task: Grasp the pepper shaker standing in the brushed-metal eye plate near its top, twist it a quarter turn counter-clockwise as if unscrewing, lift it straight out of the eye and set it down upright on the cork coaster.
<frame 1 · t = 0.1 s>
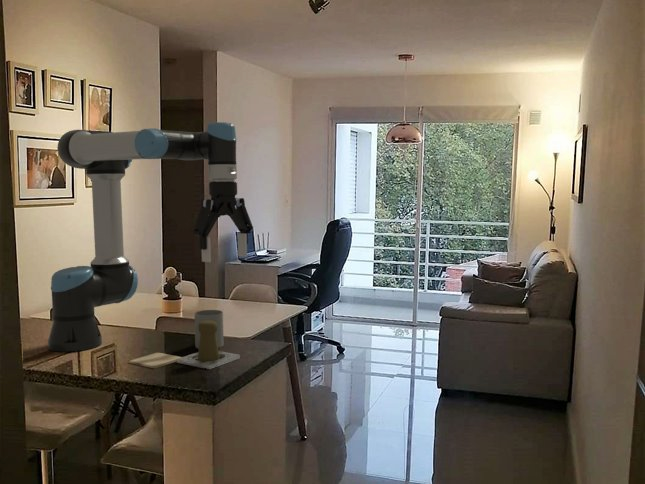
hand: (225, 259, 171), 28 cm above the countertop, fingers open, 13 cm apart
pepper shaker: (208, 361, 172), resting in eye plate
cup: (209, 346, 188), on the countertop
coaster: (156, 361, 172), on the countertop
eye plate: (208, 360, 172), on the countertop
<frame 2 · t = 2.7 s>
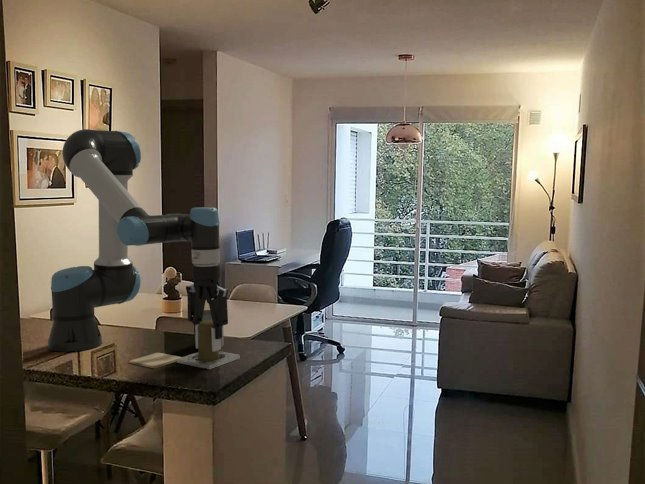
hand: (208, 348, 171), 3 cm above the countertop, fingers closed on pepper shaker, 5 cm apart
pepper shaker: (208, 361, 172), resting in eye plate, touching gripper
everything else where it was.
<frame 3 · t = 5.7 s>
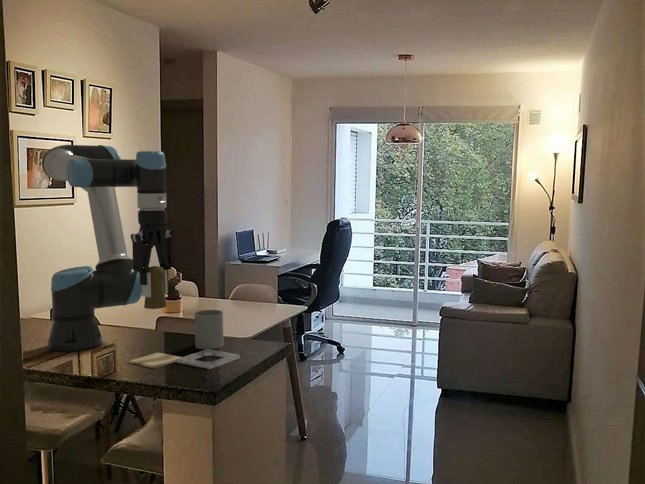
hand: (155, 294, 170), 18 cm above the countertop, fingers closed on pepper shaker, 5 cm apart
pepper shaker: (155, 307, 171), point 15 cm above the countertop, touching gripper
everything else where it was.
when the fingers open (5 cm above the countertop, at t = 8.5 s): pepper shaker drops 1 cm, resting on coaster.
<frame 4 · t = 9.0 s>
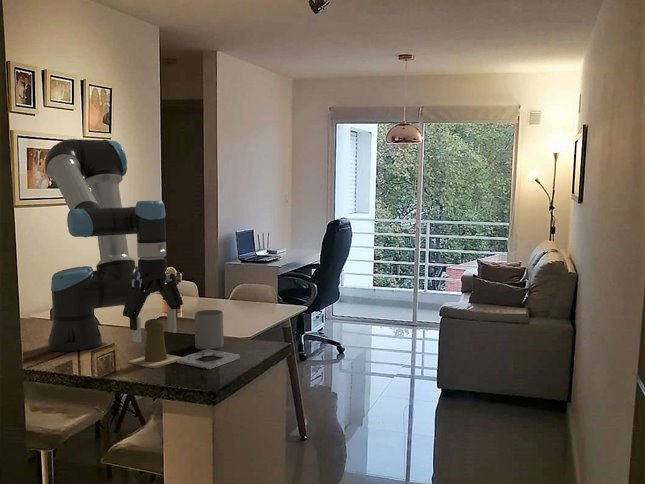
hand: (155, 336, 171), 7 cm above the countertop, fingers open, 12 cm apart
pepper shaker: (155, 359, 172), resting on coaster
everything else where it was.
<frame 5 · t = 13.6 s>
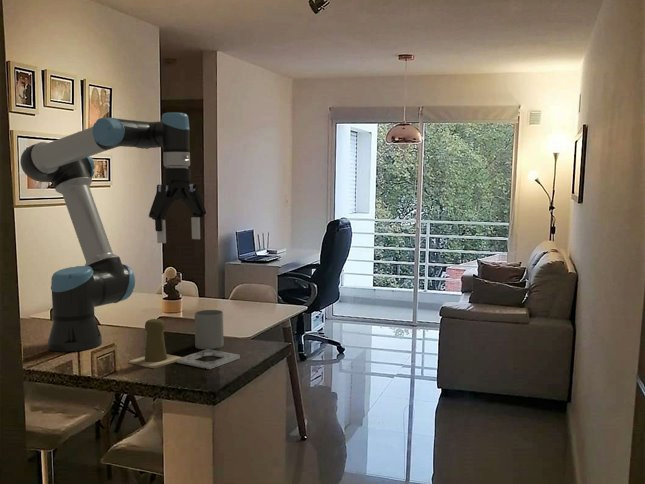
hand: (179, 241, 183), 32 cm above the countertop, fingers open, 13 cm apart
nothing on the countertop moved.
at the end: pepper shaker 0.0 cm from the coaster (horizontally); pepper shaker resting on coaster; pepper shaker tilted 0° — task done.
